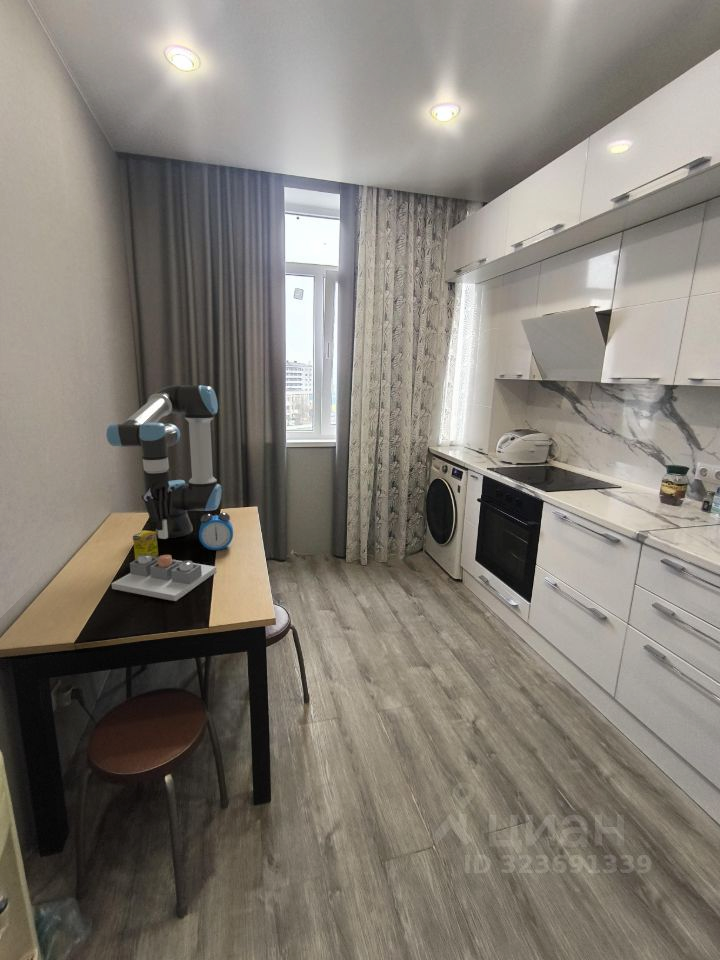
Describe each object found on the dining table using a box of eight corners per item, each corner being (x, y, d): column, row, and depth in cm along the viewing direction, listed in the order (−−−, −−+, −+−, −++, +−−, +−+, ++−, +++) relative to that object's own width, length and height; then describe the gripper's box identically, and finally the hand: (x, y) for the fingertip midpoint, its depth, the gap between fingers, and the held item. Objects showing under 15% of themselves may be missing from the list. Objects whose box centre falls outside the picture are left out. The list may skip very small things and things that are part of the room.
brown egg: (165, 567, 154) (163, 554, 152) (175, 568, 152) (174, 555, 151) (156, 572, 149) (154, 559, 148) (166, 574, 148) (165, 560, 147)
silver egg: (185, 573, 151) (184, 559, 150) (196, 574, 150) (195, 561, 149) (177, 578, 147) (176, 564, 146) (188, 580, 146) (187, 566, 145)
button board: (159, 562, 165) (157, 547, 164) (216, 571, 159) (215, 556, 157) (112, 588, 145) (110, 572, 143) (175, 601, 138) (174, 584, 137)
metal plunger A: (145, 566, 156) (143, 553, 155) (155, 567, 155) (154, 554, 154) (135, 571, 152) (134, 557, 151) (146, 573, 151) (145, 559, 150)
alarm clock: (200, 552, 175) (197, 517, 171) (200, 546, 181) (198, 512, 177) (233, 549, 179) (232, 514, 175) (233, 543, 184) (231, 510, 181)
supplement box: (149, 564, 163) (146, 537, 161) (135, 562, 165) (132, 535, 162) (159, 557, 169) (156, 531, 166) (145, 556, 170) (142, 529, 168)
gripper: (161, 465, 149) (167, 529, 155) (131, 474, 137) (139, 543, 143) (179, 467, 147) (185, 532, 153) (151, 476, 135) (159, 546, 141)
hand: (163, 537), depth 148 cm, fingers closed
